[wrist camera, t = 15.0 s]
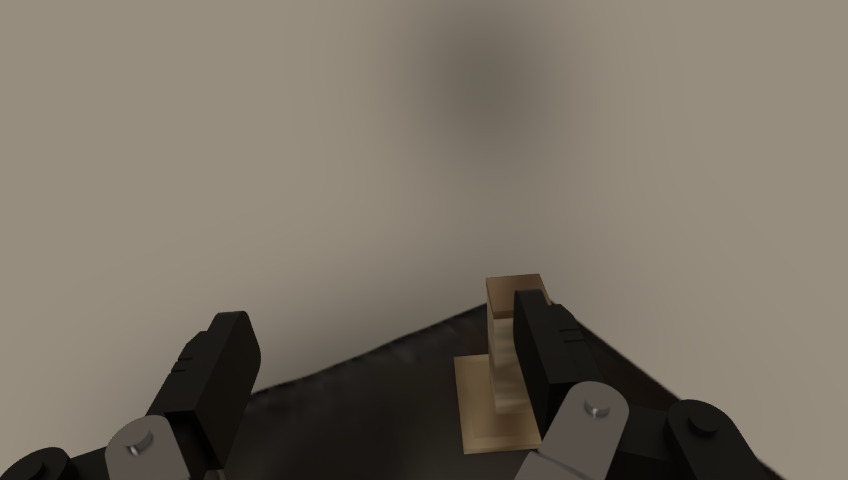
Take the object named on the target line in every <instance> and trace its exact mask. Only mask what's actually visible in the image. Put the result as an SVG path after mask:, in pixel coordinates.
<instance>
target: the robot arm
mask: <svg viewBox="0 0 848 480" xmlns="http://www.w3.org/2000/svg"><path fill="white" fill-rule="evenodd" d="M513 339H514V346H515V350H516V354H517V357H518V361H519V364H520V368H521V371H522V375H523V378H524V382H525V385H526V389H527V392H528V396H529V399H530V402H531V406H532V409H533V413H534V416H535V420H536V423H537V427H538V430H539V434H540V437H541V441H542V443H541V445H540V447H539V448H538V450H537V451H535V450H532V451H531V452H530V453H529V454H528V456H527V457H526V459H525V461H524V463H523V464H522V466H521V468H520V470H519V472H518V474H517V475H516V477H515V479H514V480H770V478H769V477H768V475H767V474H766V472H765V470H764V469H763V467H762V466H761V464H760V463H759V461H758V460H757V458H756V457H755V455H754V453H753V452H752V450H751V449H750V447H749V446H748V444H747V443H746V441H745V439H744V438H743V436H742V435H741V433H740V432H739V430H738V429H737V427H736V426H735V424H734V423H733V421H732V420H731V419H730V418H729V417H728V416H727V415H726V414H725V413H724V412H722V411H721V410H719V409H718V408H716V407H714V406H712V405H711V404H708V403H705V402H702V401H698V400H690V399H687V400H681V401H677V402H675V403H674V404H673V405H671V407H670V408H669V411H668V412H666V411H661V410H656V409H651V408H645V407H641V406H637V405H634V404H631V403H629V402H627V401H626V400H625V399H624V397H623V396H622V395H621V394H620V393H619V392H618V391H616V390H615V389H614V388H612V387H610V386H608V385H607V384H606V382H605V380H604V378H603V376H602V374H601V372H600V370H599V368H598V366H597V364H596V361H595V359H594V357H593V355H592V353H591V351H590V349H589V347H588V345H587V343H586V342H585V339H584V337H583V335H582V332H581V331H580V328H579V326H578V324H577V322H576V320H575V318H574V316H573V315H572V314H571V313H570V312H569V311H568V310H566V308H564V307H563V306H562V305H561V304H555V305H548V303H547V301H546V299H545V296H544V294H543V292H542V290H541V289H540V288H537V289H525V290H515V293H514V313H513ZM260 363H261V353H260V348H259V345H258V342H257V339H256V336H255V334H254V331H253V328H252V325H251V322H250V319H249V316H248V314H247V313H246V312H245V311H235V312H223V313H218V314H217V315H216V316H215V317H214V319H213V321H212V323H211V325H210V327H209V328H208V330H207V331H200V332H199V333H198V334H197V335H196V336H195V337H194V338H193V339H191V341H189V342H188V343H187V344H186V346H185V347H184V349H183V351H182V352H181V354H180V356H179V358H178V362H176V363H175V364H174V366H173V368H172V370H171V373H170V374H169V375H168V377H167V378H166V380H165V382H164V384H163V385H162V387H161V389H160V391H159V392H158V394H157V396H156V398H155V399H154V401H153V403H152V405H151V406H150V408H149V410H148V412H147V413H146V415H145V417H142V418H139V419H136V420H134V421H132V422H130V423H129V424H127V425H126V426H124V427H123V428H122V429H120V430H119V431H118V432H117V433H116V434H115V435H114V436H113V437H112V439H111V440H110V442H109V443H108V445H107V446H106V447H103V448H100V449H97V450H94V451H91V452H88V453H85V454H83V455H80V456H77V457H74V458H70V457H69V456H68V455H67V453H66V452H65V451H64V450H63V449H61V448H57V447H49V448H44V449H41V450H37V451H35V452H33V453H31V454H29V455H27V456H25V457H23V458H22V459H20V460H19V461H17V462H16V463H14V464H13V465H12V466H11V467H10V468H8V470H7V471H5V472H4V474H3V475H2V476H1V477H0V480H203V479H204V477H205V474H206V472H207V471H209V470H222V469H224V466H225V464H226V461H227V458H228V455H229V452H230V450H231V447H232V444H233V441H234V438H235V436H236V433H237V430H238V427H239V425H240V422H241V419H242V416H243V413H244V411H245V408H246V405H247V402H248V399H249V397H250V394H251V391H252V388H253V385H254V383H255V380H256V377H257V374H258V372H259V368H260Z"/></svg>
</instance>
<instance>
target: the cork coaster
mask: <svg viewBox="0 0 848 480" xmlns="http://www.w3.org/2000/svg"><path fill="white" fill-rule="evenodd" d="M454 366H455V375H456V384H457V394H458V403H459V412H460V421H461V430H462V439H463V448H464V454H473V453H485V452H498V451H511V450H523V449H536V448H539V447H540V445H541V443H542V441H541V437H540V434H539V430H538V427H537V423H536V420H535V416H534V413H533V412H526V413H512V414H498V415H496V412H495V406H494V401H493V395H492V390H491V384H490V378H489V354H485V355H473V356H461V357H454Z"/></svg>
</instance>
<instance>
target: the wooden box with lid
mask: <svg viewBox="0 0 848 480" xmlns="http://www.w3.org/2000/svg"><path fill="white" fill-rule="evenodd" d="M486 287H487V314H488V349H489V378H490V384H491V390H492V395H493V401H494V406H495V412H496V415H498V414H512V413H526V412H533V409H532V406H531V402H530V399H529V396H528V392H527V389H526V385H525V382H524V378H523V375H522V371H521V368H520V364H519V361H518V357H517V354H516V350H515V346H514V339H513V313H514V293H515V290H525V289H537V288H540V289H541V290H542V292H543V294H544V296H545V299H546V301H547V303H548V305H552V304H551V302H550V299H549V297H548V294H547V292H546V290H545V287H544V285H543V282H542V280H541V277H540V275H539V274H530V275H529V274H528V275H516V276H504V277H491V278H486Z"/></svg>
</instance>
